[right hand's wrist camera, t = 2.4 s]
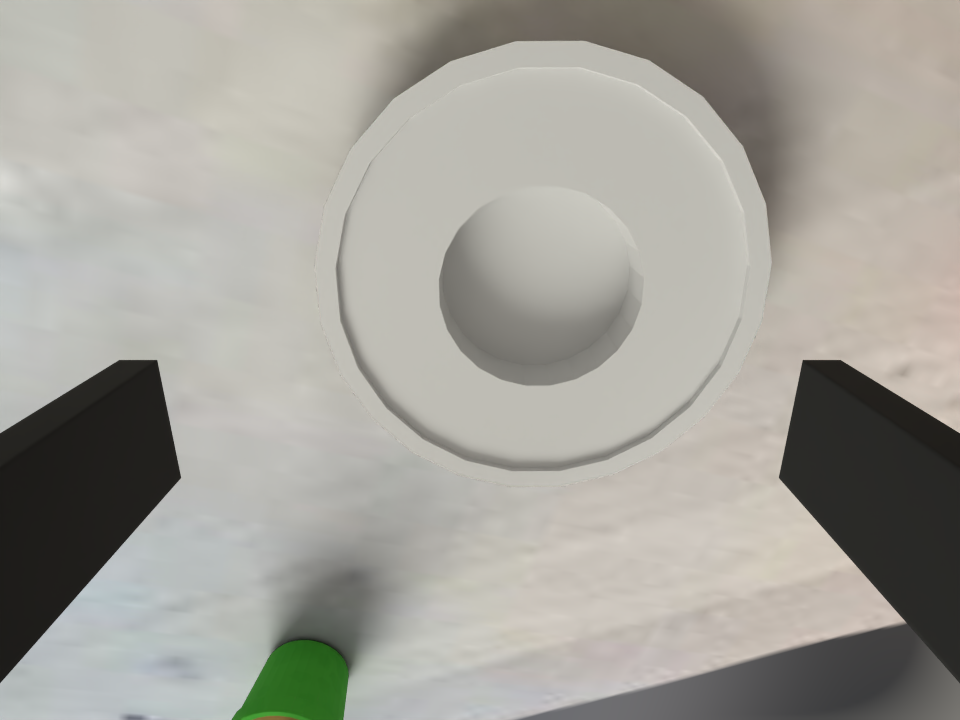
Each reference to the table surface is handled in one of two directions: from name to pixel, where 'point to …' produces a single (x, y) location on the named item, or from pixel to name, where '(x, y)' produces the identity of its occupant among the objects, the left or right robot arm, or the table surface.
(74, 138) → the table surface
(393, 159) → the ashtray
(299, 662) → the potted flower
